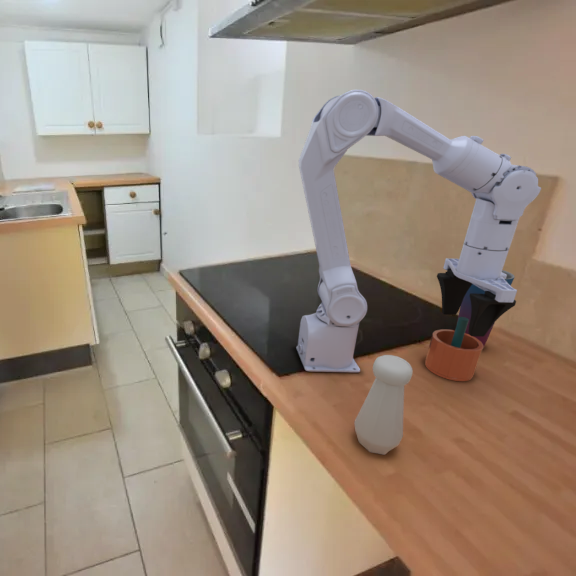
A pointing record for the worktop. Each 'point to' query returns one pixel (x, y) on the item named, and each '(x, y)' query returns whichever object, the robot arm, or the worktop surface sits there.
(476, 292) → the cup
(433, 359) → the orange round pot
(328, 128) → the robot arm
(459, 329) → the straw
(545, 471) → the worktop surface
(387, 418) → the salt shaker
